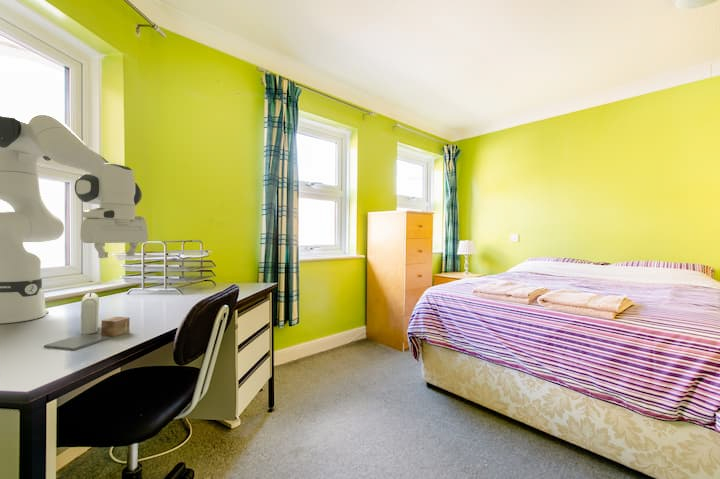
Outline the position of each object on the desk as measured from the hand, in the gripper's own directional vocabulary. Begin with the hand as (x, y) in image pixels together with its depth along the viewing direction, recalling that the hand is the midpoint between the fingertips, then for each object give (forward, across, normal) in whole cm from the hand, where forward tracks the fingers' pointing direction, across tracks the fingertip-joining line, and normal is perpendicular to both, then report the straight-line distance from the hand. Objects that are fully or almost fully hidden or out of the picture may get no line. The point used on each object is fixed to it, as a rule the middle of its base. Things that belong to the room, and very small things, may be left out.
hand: (117, 257), depth 98 cm
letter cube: (+25, 0, 0) cm, 25 cm away
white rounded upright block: (+25, -1, -11) cm, 28 cm away
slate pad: (+25, +9, -3) cm, 27 cm away
